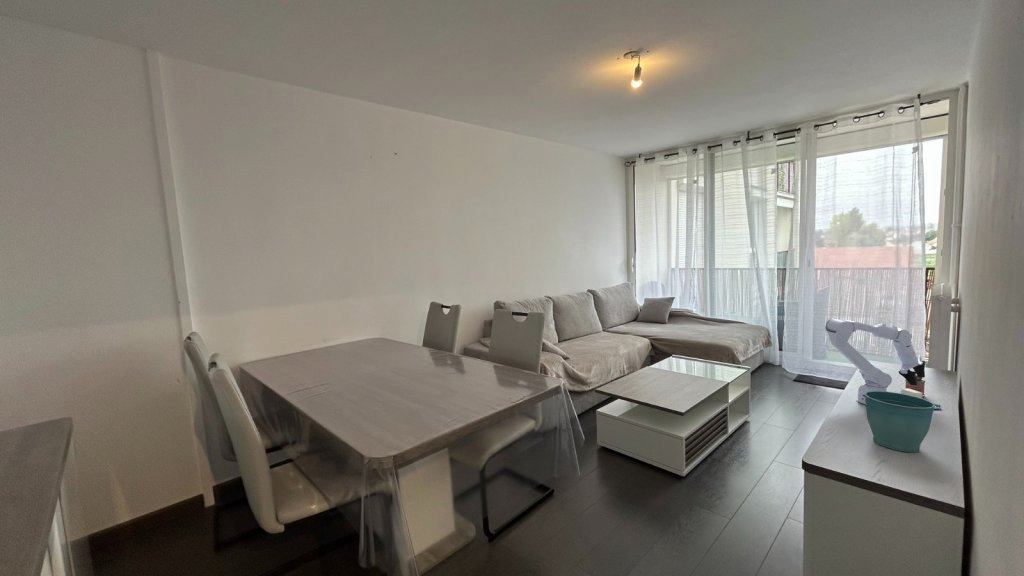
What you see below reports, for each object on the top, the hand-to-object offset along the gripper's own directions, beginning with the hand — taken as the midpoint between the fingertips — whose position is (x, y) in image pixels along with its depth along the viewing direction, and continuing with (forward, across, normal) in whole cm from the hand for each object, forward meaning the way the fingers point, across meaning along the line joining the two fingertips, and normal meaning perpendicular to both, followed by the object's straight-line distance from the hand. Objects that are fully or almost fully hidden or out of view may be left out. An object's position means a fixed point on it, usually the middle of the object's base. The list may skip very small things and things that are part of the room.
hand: (917, 381), depth 182 cm
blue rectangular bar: (+12, -4, -4) cm, 13 cm away
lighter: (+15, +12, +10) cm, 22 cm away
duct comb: (+10, -3, +3) cm, 11 cm away
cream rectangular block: (+9, -6, +3) cm, 12 cm away
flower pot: (-6, -59, -17) cm, 61 cm away
